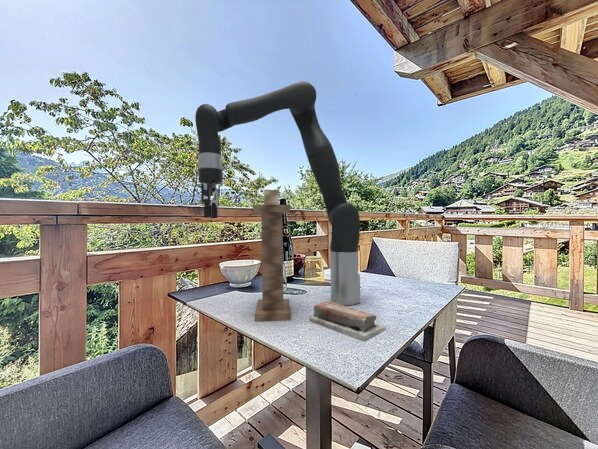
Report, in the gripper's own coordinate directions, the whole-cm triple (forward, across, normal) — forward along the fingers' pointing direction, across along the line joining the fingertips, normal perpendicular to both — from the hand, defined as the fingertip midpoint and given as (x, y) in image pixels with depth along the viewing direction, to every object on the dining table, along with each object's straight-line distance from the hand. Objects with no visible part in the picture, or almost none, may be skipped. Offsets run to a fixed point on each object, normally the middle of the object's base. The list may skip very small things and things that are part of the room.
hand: (211, 217), depth 87 cm
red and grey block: (+30, -22, -39) cm, 54 cm away
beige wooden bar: (-3, -6, -20) cm, 21 cm away
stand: (+29, -10, -20) cm, 37 cm away
